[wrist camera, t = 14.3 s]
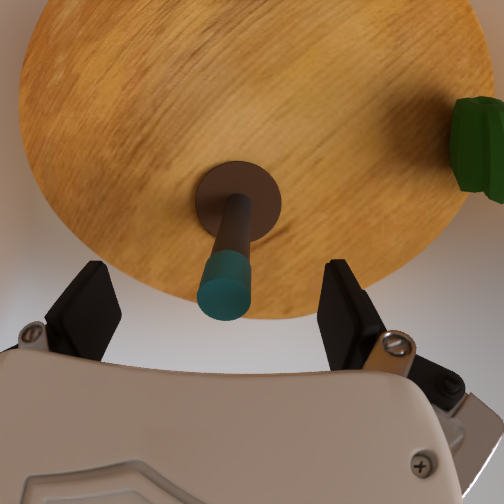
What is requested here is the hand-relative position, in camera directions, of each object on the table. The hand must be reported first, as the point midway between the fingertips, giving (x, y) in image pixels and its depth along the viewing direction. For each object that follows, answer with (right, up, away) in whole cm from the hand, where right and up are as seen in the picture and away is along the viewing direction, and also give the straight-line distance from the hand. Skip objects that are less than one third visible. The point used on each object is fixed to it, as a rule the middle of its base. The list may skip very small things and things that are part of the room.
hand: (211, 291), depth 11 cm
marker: (+1, +5, +11) cm, 12 cm away
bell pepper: (+20, +14, +2) cm, 24 cm away
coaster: (+1, +6, +11) cm, 13 cm away
